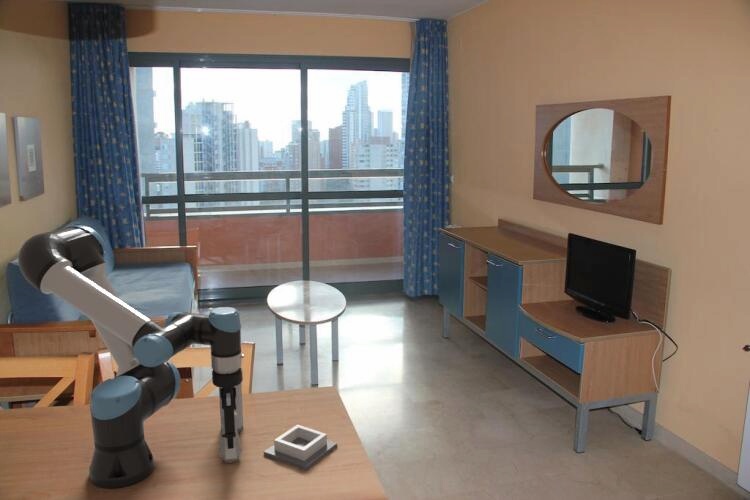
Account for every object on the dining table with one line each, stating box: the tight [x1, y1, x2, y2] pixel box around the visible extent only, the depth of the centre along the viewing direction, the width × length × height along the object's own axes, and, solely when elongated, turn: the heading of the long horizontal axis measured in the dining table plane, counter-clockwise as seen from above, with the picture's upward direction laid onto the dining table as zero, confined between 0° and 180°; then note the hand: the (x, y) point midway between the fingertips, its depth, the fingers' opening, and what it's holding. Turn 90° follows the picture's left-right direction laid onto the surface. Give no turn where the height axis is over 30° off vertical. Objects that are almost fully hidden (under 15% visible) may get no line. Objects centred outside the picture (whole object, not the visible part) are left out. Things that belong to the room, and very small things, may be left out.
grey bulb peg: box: [218, 412, 243, 464], centre depth 167 cm, size 6×6×13 cm
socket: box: [263, 424, 338, 471], centre depth 172 cm, size 14×14×4 cm
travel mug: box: [218, 381, 244, 433], centre depth 182 cm, size 6×7×20 cm
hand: (230, 445), depth 167 cm, fingers open, 12 cm apart
